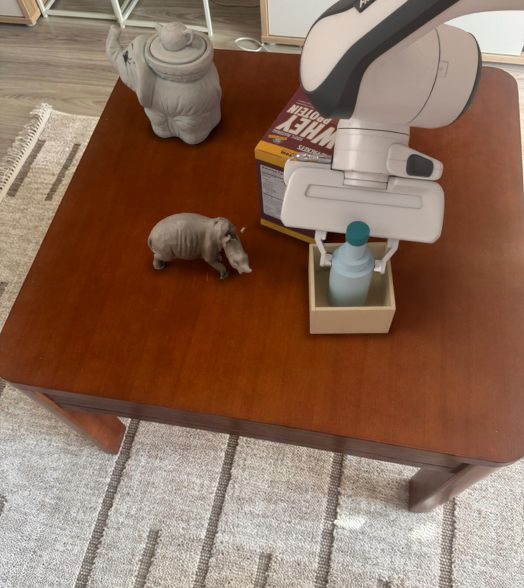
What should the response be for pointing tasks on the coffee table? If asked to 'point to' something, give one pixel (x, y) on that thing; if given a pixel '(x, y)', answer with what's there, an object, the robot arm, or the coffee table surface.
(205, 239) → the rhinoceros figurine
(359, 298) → the bottle
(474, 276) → the coffee table surface
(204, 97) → the teapot
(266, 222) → the supplement box
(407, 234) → the robot arm
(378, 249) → the open box
